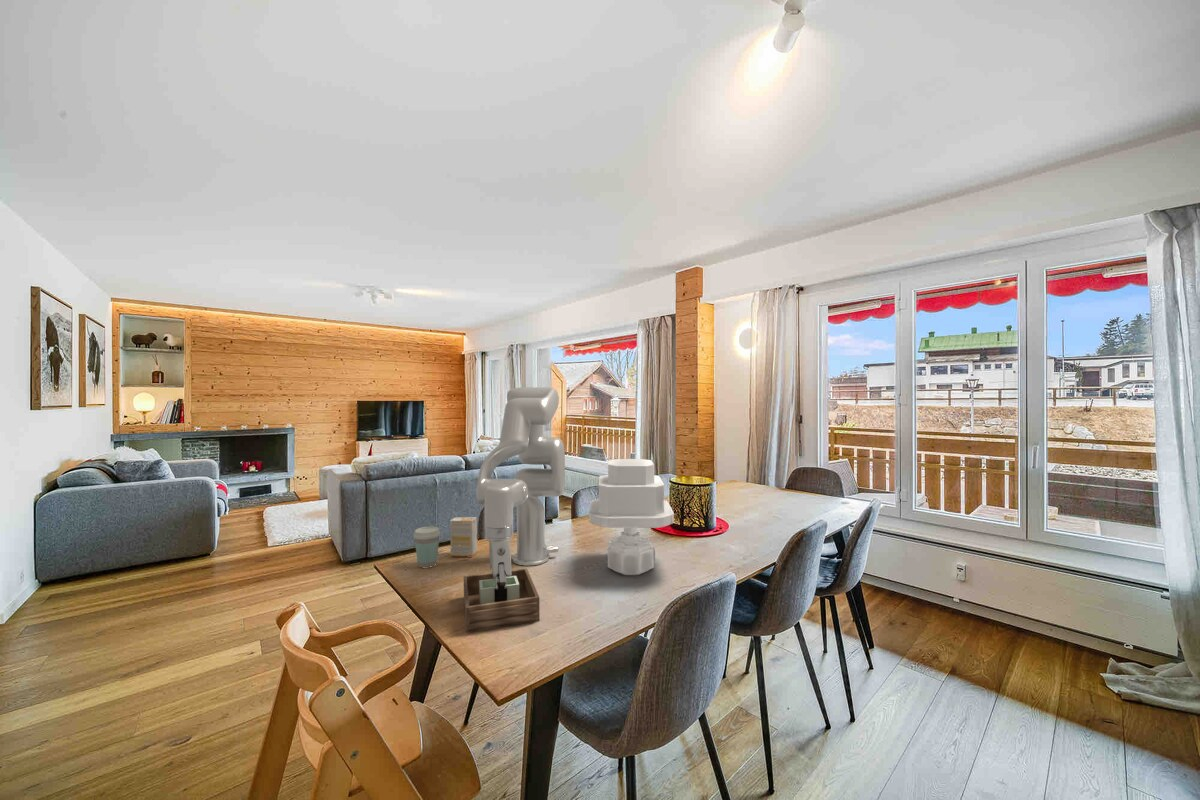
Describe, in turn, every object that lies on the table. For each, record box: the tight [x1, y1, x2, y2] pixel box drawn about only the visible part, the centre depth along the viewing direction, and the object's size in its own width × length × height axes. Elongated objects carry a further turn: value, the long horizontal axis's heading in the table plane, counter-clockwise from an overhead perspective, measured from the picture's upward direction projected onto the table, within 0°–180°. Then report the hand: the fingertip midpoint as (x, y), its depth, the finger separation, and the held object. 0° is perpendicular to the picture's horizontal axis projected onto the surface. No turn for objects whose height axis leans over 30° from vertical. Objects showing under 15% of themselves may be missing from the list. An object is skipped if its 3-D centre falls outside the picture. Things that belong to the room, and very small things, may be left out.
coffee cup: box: [413, 526, 441, 568], centre depth 154 cm, size 9×8×12 cm
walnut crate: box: [463, 568, 541, 633], centre depth 123 cm, size 18×21×6 cm
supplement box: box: [449, 516, 478, 558], centre depth 164 cm, size 8×5×13 cm, turn 84°
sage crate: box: [479, 576, 519, 604], centre depth 123 cm, size 10×6×5 cm, turn 108°
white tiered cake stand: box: [588, 458, 675, 576], centre depth 151 cm, size 27×27×35 cm
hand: (499, 597), depth 123 cm, fingers closed on sage crate, 5 cm apart
